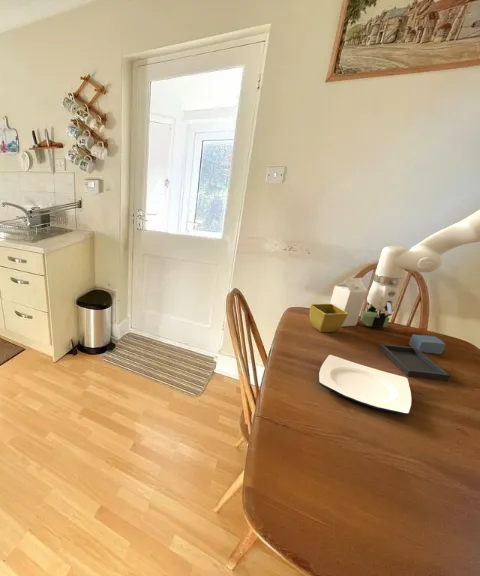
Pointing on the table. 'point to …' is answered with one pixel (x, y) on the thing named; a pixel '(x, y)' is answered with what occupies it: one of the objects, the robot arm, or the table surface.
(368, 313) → the sage pad
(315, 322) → the flower pot
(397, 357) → the tray
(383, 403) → the plate
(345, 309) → the milk carton
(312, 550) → the table surface
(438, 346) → the blue block
